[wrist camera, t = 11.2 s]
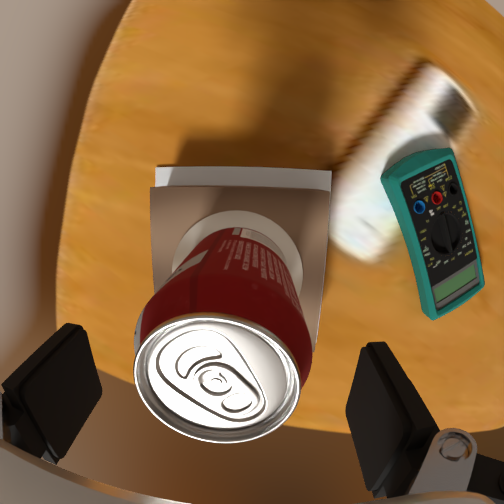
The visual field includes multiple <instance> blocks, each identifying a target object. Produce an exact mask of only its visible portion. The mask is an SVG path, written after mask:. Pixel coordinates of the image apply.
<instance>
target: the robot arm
mask: <svg viewBox="0 0 504 504" xmlns="http://www.w3.org/2000/svg"><path fill="white" fill-rule="evenodd" d="M2 387H3V389H4V391H5V392H4V393H3V394H2V393H1V392H0V504H189V503H182V502H177V501H171V500H166V499H160V498H156V497H152V496H147V495H143V494H139V493H134V492H131V491H127V490H123V489H119V488H116V487H113V486H110V485H107V484H103V483H100V482H97V481H94V480H91V479H88V478H86V477H83V476H80V475H77V474H74V473H72V472H70V471H67V470H65V469H62V468H60V467H58V466H55V465H57V463H58V461H59V459H62V458H63V457H64V456H65V455H66V453H67V451H68V450H69V448H70V446H71V445H72V443H73V441H74V440H75V438H76V436H77V435H78V433H79V431H80V430H81V428H82V427H83V425H84V423H85V422H86V420H87V418H88V417H89V415H90V414H91V412H92V410H93V409H94V407H95V405H96V404H97V402H98V401H99V399H100V398H101V395H102V386H101V383H100V380H99V377H98V373H97V370H96V366H95V363H94V359H93V355H92V352H91V348H90V344H89V340H88V336H87V332H86V331H85V330H84V329H83V327H82V326H81V325H77V324H71V323H66V324H64V325H63V326H62V327H61V328H60V329H59V330H58V331H57V332H55V333H54V334H53V335H52V336H51V337H50V338H49V339H48V340H47V341H46V342H45V343H44V344H42V345H41V346H40V347H39V348H38V349H37V350H36V351H35V352H34V353H33V354H32V355H31V356H30V357H29V358H28V359H27V360H26V361H24V363H22V365H20V366H19V367H18V368H17V369H16V370H15V371H14V372H13V373H12V374H11V375H10V376H9V377H8V378H7V379H6V380H5V381H4V382H3V383H2ZM346 417H347V421H348V424H349V428H350V431H351V434H352V438H353V441H354V445H355V448H356V452H357V456H358V459H359V463H360V466H361V470H362V474H363V478H364V481H365V485H366V488H367V490H368V491H372V493H373V496H374V498H379V497H383V496H387V499H381V500H375V501H370V502H364V503H357V504H504V462H502V461H499V460H496V459H492V458H489V457H486V456H483V455H480V454H477V445H476V442H475V440H474V438H473V437H472V436H471V435H470V434H469V433H467V432H466V431H464V430H461V429H457V428H447V429H444V430H441V431H440V430H439V428H438V426H437V424H436V422H435V421H434V419H433V417H432V416H431V414H430V412H429V410H428V409H427V407H426V405H425V404H424V402H423V400H422V398H421V397H420V395H419V393H418V392H417V390H416V389H415V387H414V385H413V384H412V382H411V381H410V379H409V378H408V377H407V375H406V374H405V372H404V370H403V369H402V367H401V366H400V364H399V362H398V361H397V359H396V358H395V356H394V354H393V353H392V351H391V350H390V348H389V347H388V345H387V344H386V342H369V343H367V345H366V347H362V349H361V351H360V355H359V360H358V364H357V368H356V372H355V375H354V379H353V383H352V387H351V390H350V394H349V397H348V401H347V404H346ZM41 457H43V458H44V459H45V460H47V461H49V462H51V463H53V464H55V465H53V464H51V463H48V462H46V461H44V460H42V459H41Z"/></svg>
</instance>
